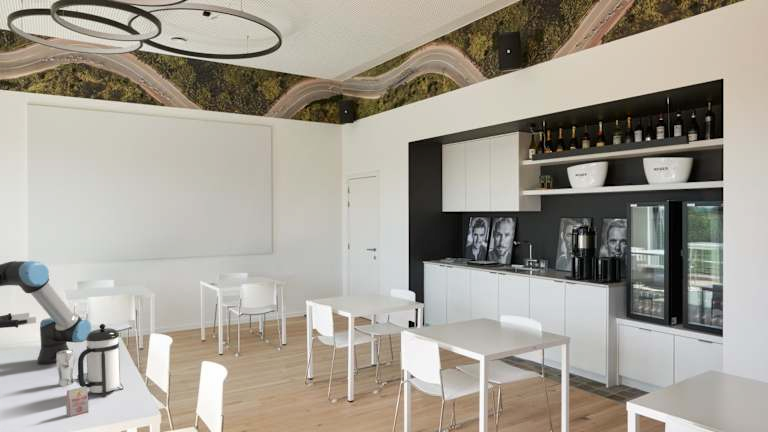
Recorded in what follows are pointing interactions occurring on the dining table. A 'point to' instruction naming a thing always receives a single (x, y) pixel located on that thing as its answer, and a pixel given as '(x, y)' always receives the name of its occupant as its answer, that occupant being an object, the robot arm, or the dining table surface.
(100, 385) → the coffee press
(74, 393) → the printed carton
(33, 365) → the dining table surface
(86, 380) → the block
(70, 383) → the beer glass
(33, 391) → the dining table surface
